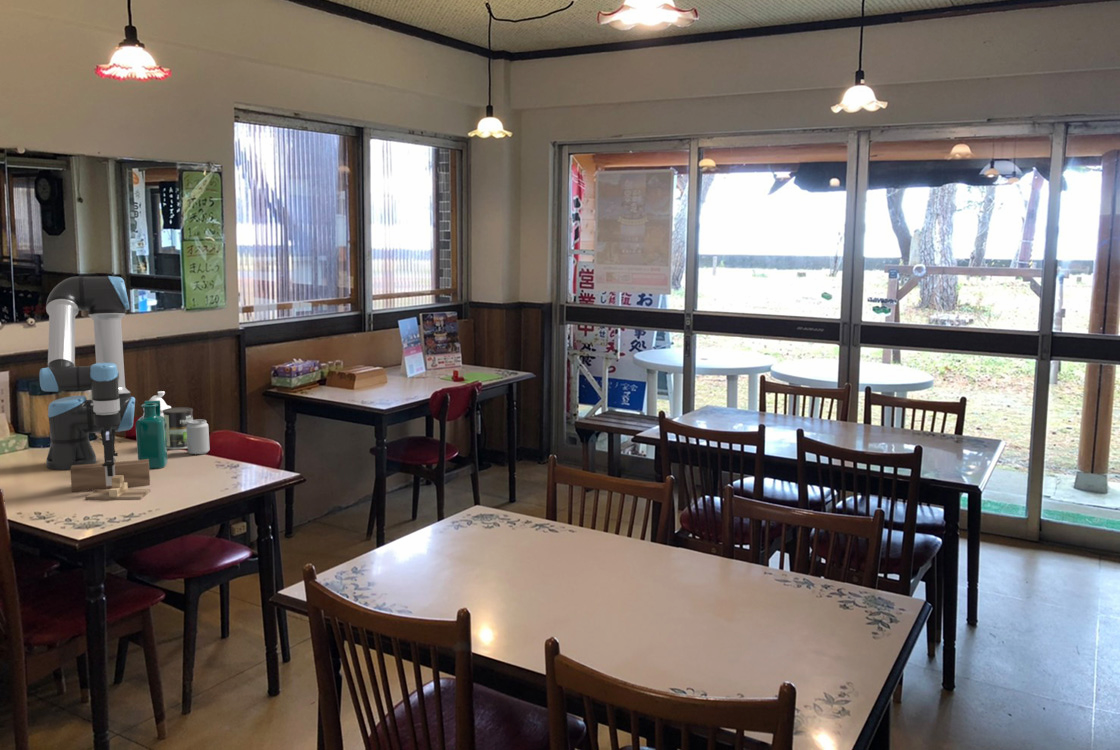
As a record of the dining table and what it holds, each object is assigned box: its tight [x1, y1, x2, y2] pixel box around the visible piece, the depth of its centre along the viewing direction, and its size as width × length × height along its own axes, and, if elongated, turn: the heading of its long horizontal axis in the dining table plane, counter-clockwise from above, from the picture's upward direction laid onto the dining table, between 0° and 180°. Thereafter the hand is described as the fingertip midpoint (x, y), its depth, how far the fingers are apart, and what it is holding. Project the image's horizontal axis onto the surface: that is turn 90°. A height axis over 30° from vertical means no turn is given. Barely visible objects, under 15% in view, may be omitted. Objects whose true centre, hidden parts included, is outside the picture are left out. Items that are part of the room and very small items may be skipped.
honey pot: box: [141, 390, 172, 417], centre depth 346 cm, size 13×13×18 cm
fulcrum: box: [85, 475, 152, 501], centre depth 272 cm, size 8×16×6 cm, turn 95°
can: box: [186, 419, 211, 456], centre depth 324 cm, size 8×8×12 cm
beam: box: [69, 459, 151, 493], centre depth 281 cm, size 5×22×8 cm, turn 114°
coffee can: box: [163, 406, 194, 450], centre depth 332 cm, size 10×10×14 cm
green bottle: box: [135, 400, 169, 470], centre depth 305 cm, size 10×8×22 cm
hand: (111, 481), depth 282 cm, fingers open, 10 cm apart
